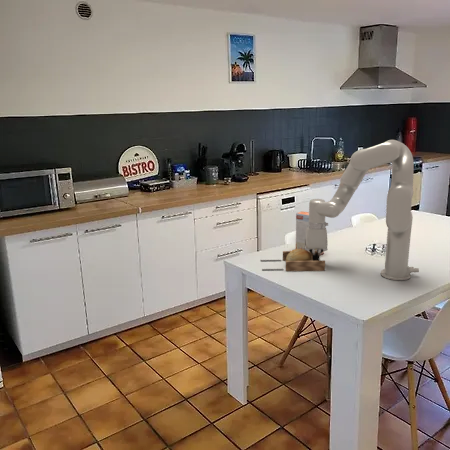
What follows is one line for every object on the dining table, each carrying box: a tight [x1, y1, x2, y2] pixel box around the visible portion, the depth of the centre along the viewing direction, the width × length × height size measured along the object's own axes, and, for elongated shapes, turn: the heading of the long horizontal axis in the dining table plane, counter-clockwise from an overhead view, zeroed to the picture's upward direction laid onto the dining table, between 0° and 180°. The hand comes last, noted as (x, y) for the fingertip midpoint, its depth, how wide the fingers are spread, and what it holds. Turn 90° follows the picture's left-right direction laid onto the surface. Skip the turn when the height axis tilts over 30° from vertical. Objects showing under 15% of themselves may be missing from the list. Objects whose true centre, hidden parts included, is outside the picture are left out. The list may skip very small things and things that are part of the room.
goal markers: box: [260, 259, 285, 272], centre depth 217 cm, size 10×14×1 cm
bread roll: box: [285, 248, 312, 262], centre depth 215 cm, size 10×15×8 cm, turn 132°
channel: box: [282, 250, 326, 272], centre depth 216 cm, size 18×16×4 cm
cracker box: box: [295, 211, 325, 256], centre depth 232 cm, size 14×6×21 cm, turn 47°
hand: (315, 262), depth 216 cm, fingers closed
